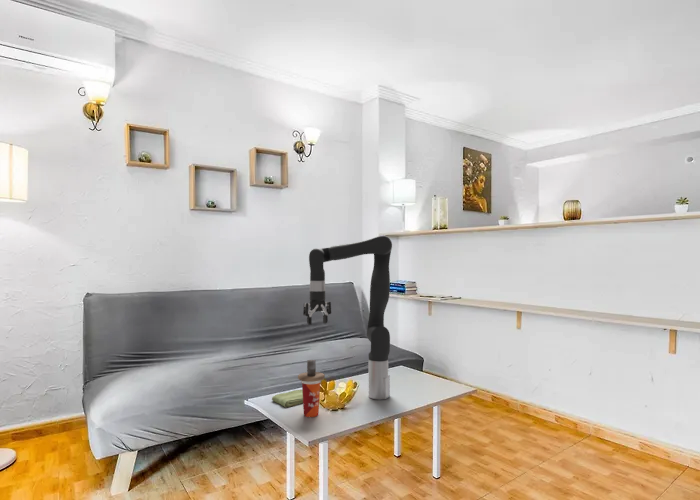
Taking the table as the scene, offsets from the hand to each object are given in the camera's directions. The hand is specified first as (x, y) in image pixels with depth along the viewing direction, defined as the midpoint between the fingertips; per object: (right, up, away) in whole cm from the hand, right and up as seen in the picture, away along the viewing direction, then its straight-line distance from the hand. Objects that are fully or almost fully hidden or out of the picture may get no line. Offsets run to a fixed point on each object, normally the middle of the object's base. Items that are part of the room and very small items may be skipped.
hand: (317, 324), depth 200 cm
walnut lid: (0, -17, -28) cm, 33 cm away
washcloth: (-10, -34, -10) cm, 36 cm away
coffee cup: (0, -33, -28) cm, 43 cm away
